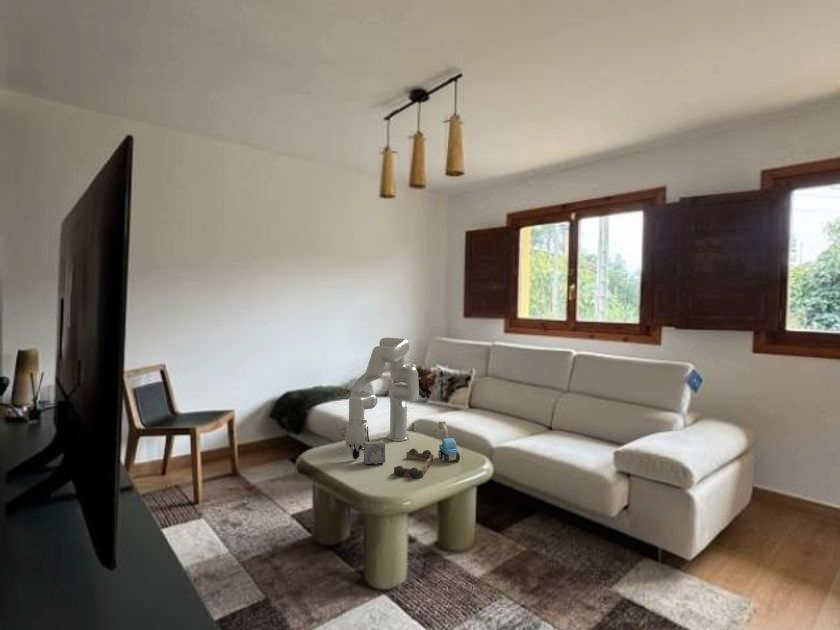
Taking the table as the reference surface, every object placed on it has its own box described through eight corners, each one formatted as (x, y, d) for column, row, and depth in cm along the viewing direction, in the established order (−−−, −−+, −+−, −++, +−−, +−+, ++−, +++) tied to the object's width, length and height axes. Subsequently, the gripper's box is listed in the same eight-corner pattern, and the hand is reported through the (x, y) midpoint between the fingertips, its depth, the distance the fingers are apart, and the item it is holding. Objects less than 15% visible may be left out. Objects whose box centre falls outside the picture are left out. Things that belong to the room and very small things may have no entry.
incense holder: (382, 458, 228) (383, 438, 227) (385, 464, 220) (386, 443, 219) (363, 460, 225) (363, 439, 225) (365, 466, 217) (365, 444, 217)
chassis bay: (407, 456, 232) (408, 447, 232) (434, 459, 229) (434, 450, 228) (392, 475, 207) (392, 466, 207) (421, 479, 204) (421, 469, 203)
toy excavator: (448, 451, 241) (449, 419, 240) (461, 462, 225) (461, 428, 224) (433, 452, 238) (434, 420, 238) (444, 464, 222) (445, 429, 222)
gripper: (373, 420, 226) (372, 457, 227) (345, 418, 230) (344, 454, 230) (367, 424, 219) (367, 462, 220) (339, 422, 222) (338, 459, 223)
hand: (355, 458), depth 225 cm, fingers closed
